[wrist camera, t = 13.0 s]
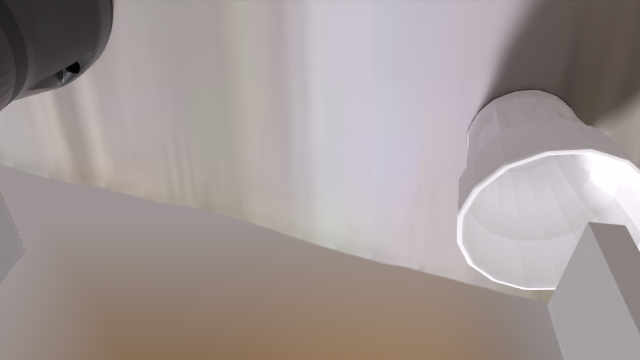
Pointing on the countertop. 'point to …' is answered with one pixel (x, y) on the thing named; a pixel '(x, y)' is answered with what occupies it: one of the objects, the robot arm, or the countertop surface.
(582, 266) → the robot arm
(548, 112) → the cup
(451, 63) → the countertop surface
